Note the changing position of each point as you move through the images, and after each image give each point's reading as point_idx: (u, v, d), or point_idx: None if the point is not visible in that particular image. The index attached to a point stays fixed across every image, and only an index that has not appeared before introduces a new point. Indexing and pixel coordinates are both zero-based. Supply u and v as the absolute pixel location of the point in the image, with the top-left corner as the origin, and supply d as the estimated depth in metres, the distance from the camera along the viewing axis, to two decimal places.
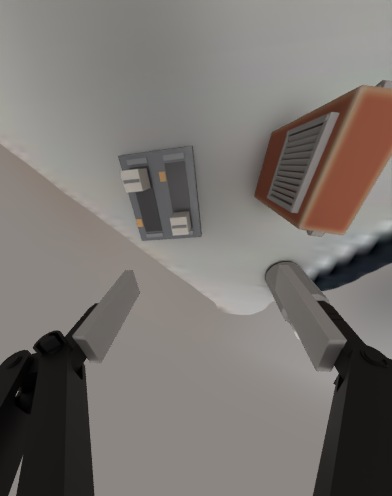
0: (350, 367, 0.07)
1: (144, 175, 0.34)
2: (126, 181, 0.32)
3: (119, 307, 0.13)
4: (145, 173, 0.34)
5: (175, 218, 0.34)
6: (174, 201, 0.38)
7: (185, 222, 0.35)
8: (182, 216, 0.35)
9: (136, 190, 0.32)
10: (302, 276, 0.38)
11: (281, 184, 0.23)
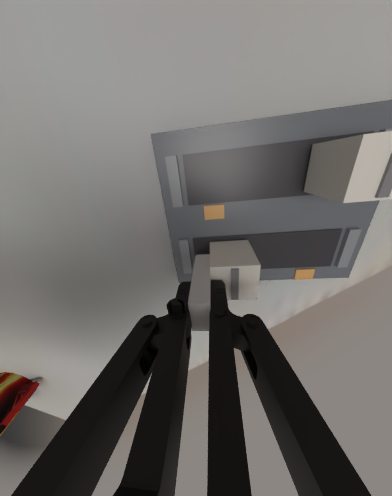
0: (209, 328, 0.09)
1: (223, 250, 0.15)
2: (234, 294, 0.14)
3: None
4: (219, 247, 0.16)
5: (351, 181, 0.10)
6: (274, 188, 0.15)
7: (386, 138, 0.09)
8: (349, 154, 0.09)
9: (256, 278, 0.13)
10: None
11: None
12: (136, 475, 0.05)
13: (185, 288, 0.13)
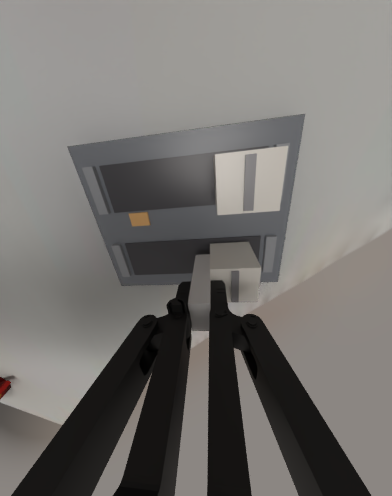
0: (209, 328, 0.09)
1: (223, 252, 0.15)
2: (234, 296, 0.14)
3: None
4: (219, 249, 0.16)
5: (219, 196, 0.10)
6: (189, 198, 0.16)
7: (236, 158, 0.09)
8: (215, 171, 0.10)
9: (257, 281, 0.13)
10: None
11: None
12: (136, 475, 0.05)
13: (185, 288, 0.13)
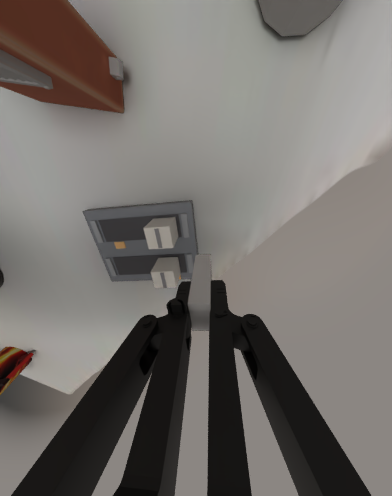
0: (209, 328, 0.09)
1: (161, 263, 0.30)
2: (164, 284, 0.29)
3: None
4: (161, 261, 0.31)
5: (148, 242, 0.25)
6: (144, 235, 0.30)
7: (151, 229, 0.24)
8: None
9: (173, 277, 0.28)
10: None
11: None
12: (136, 475, 0.05)
13: (185, 288, 0.13)
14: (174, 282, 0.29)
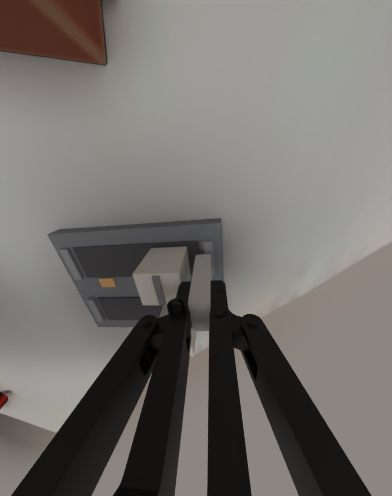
0: (209, 328, 0.09)
1: None
2: None
3: None
4: None
5: (141, 294, 0.15)
6: None
7: (146, 277, 0.14)
8: None
9: None
10: None
11: None
12: (136, 475, 0.05)
13: (185, 288, 0.13)
14: (191, 350, 0.18)
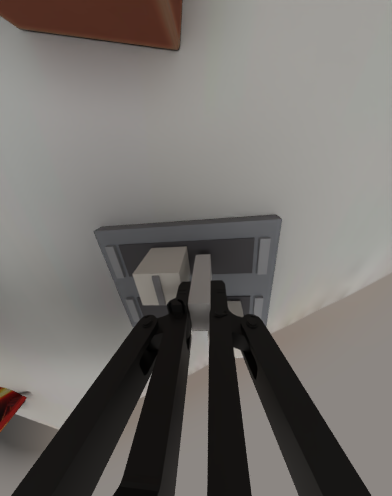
0: (209, 328, 0.09)
1: None
2: None
3: None
4: None
5: (141, 294, 0.15)
6: (191, 269, 0.19)
7: (146, 277, 0.14)
8: None
9: None
10: None
11: None
12: (136, 475, 0.05)
13: (185, 288, 0.13)
14: None
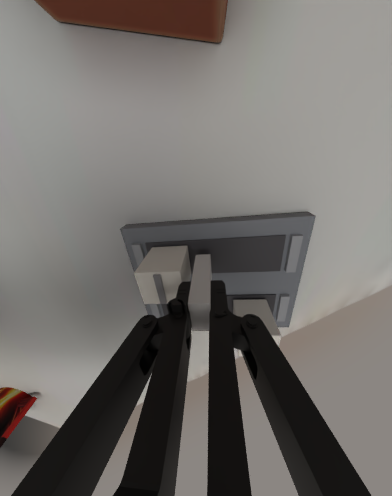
0: (209, 328, 0.09)
1: (247, 312, 0.19)
2: None
3: None
4: (243, 309, 0.19)
5: (143, 293, 0.15)
6: (218, 267, 0.19)
7: (148, 275, 0.14)
8: None
9: (276, 343, 0.16)
10: None
11: None
12: (136, 475, 0.05)
13: (185, 288, 0.13)
14: None
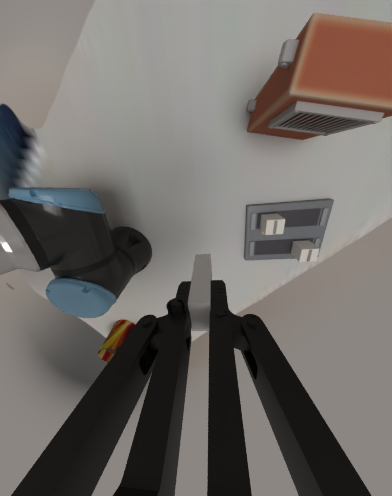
0: (209, 328, 0.09)
1: (302, 244, 0.42)
2: (308, 259, 0.40)
3: None
4: (299, 243, 0.42)
5: (266, 229, 0.38)
6: (288, 224, 0.42)
7: (272, 221, 0.37)
8: (265, 223, 0.38)
9: (317, 253, 0.39)
10: None
11: (324, 127, 0.23)
12: (136, 475, 0.05)
13: (185, 288, 0.13)
14: (316, 257, 0.40)
